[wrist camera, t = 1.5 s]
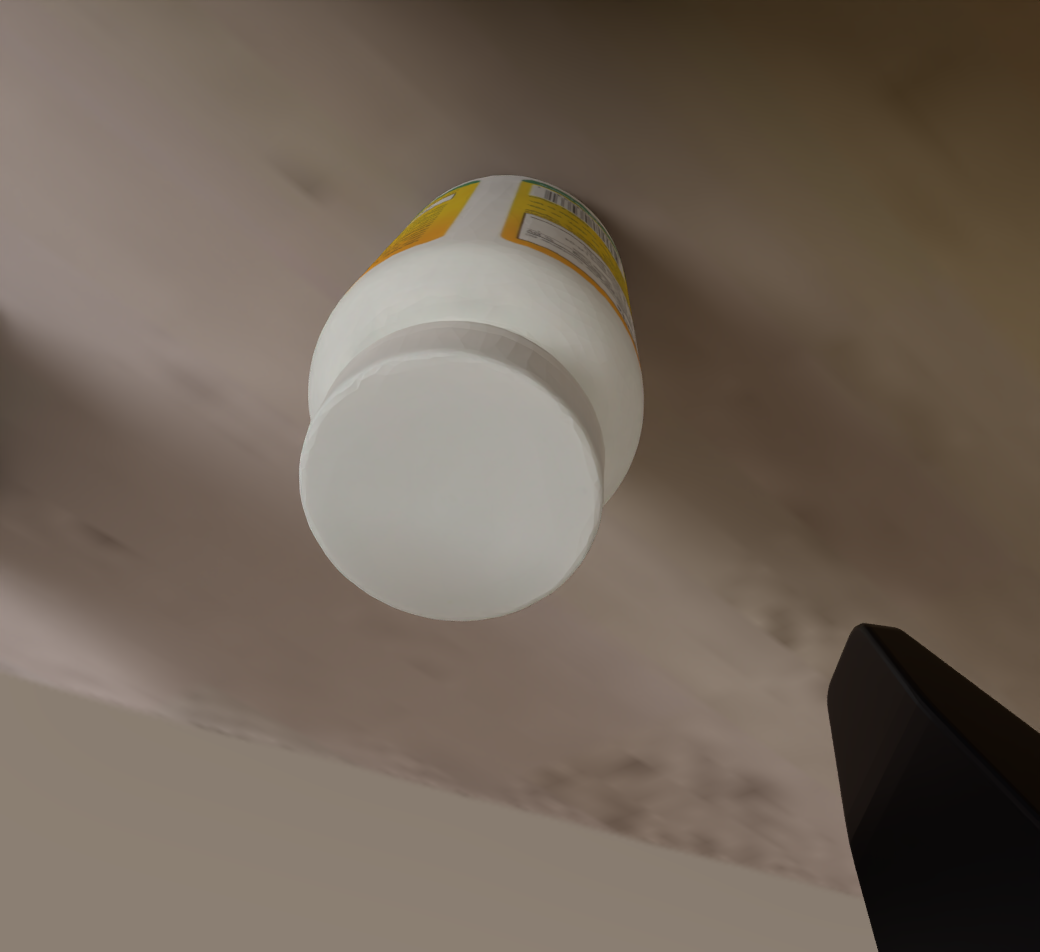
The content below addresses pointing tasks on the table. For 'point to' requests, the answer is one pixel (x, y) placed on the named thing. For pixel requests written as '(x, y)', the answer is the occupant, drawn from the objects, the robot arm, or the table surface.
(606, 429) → the supplement bottle
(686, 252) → the table surface
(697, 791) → the table surface
